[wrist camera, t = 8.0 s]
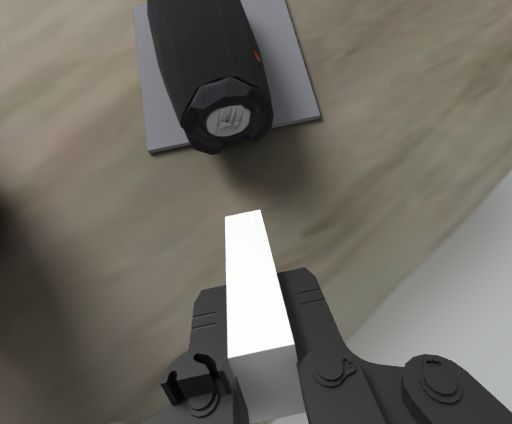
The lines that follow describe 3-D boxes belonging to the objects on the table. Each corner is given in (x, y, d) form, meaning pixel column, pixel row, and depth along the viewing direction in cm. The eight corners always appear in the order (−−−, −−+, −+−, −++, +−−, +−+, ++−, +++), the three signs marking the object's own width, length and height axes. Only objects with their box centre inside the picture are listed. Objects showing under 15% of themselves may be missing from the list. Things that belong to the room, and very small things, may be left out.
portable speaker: (302, 105, 24) (241, -45, 30) (199, 80, 19) (149, -98, 25) (250, 160, 31) (208, 27, 37) (161, 154, 25) (129, -2, 31)
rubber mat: (319, 118, 30) (320, 115, 30) (149, 153, 30) (147, 150, 30) (277, -18, 36) (277, -23, 36) (135, 11, 36) (132, 6, 35)
